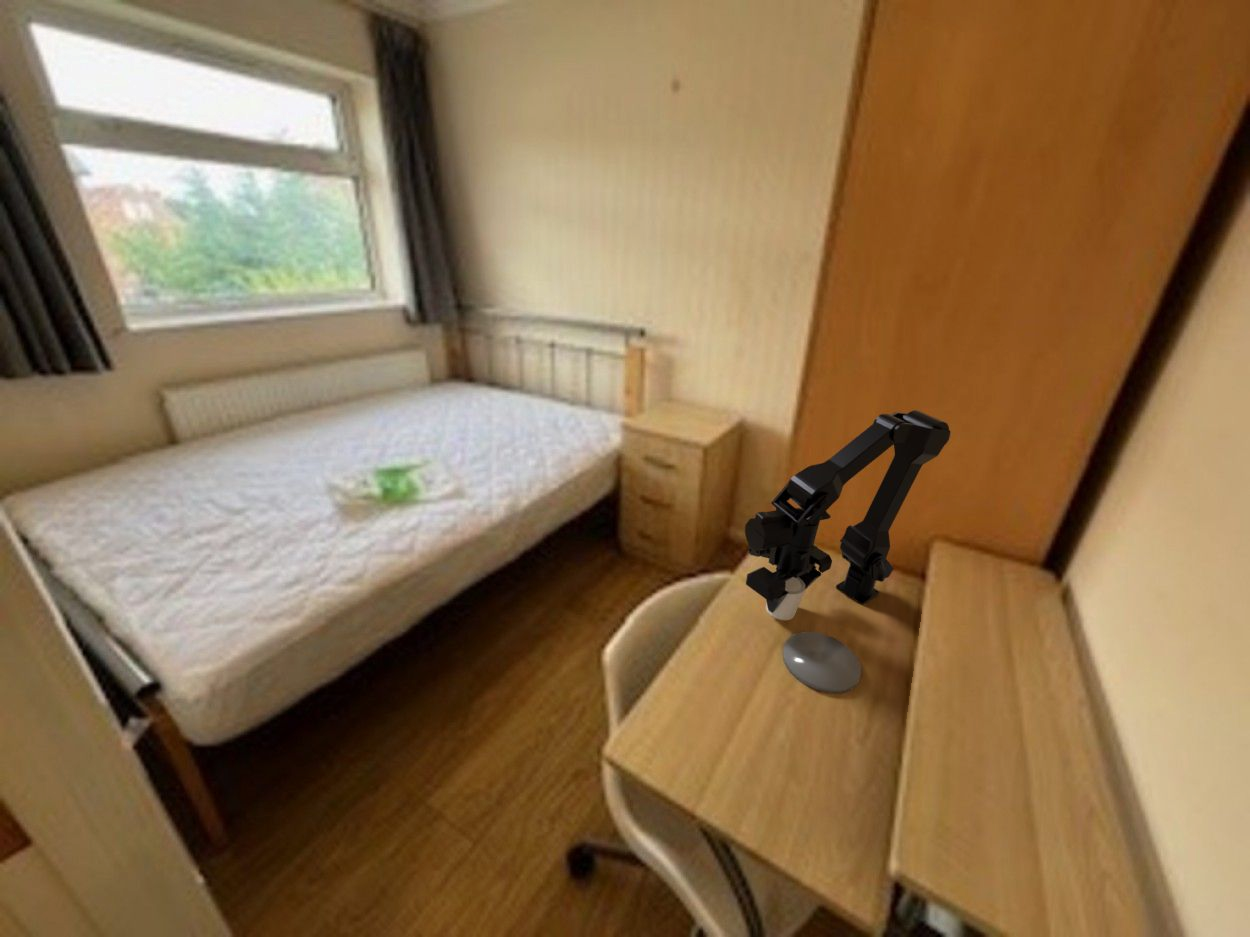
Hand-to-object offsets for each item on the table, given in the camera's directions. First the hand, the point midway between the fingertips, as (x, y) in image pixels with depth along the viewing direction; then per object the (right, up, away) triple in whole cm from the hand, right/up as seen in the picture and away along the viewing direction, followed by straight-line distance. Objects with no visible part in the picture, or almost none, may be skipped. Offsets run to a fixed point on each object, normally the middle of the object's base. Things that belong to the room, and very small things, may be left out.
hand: (781, 605), depth 108 cm
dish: (+4, -7, -11) cm, 14 cm away
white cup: (0, -1, +1) cm, 2 cm away
